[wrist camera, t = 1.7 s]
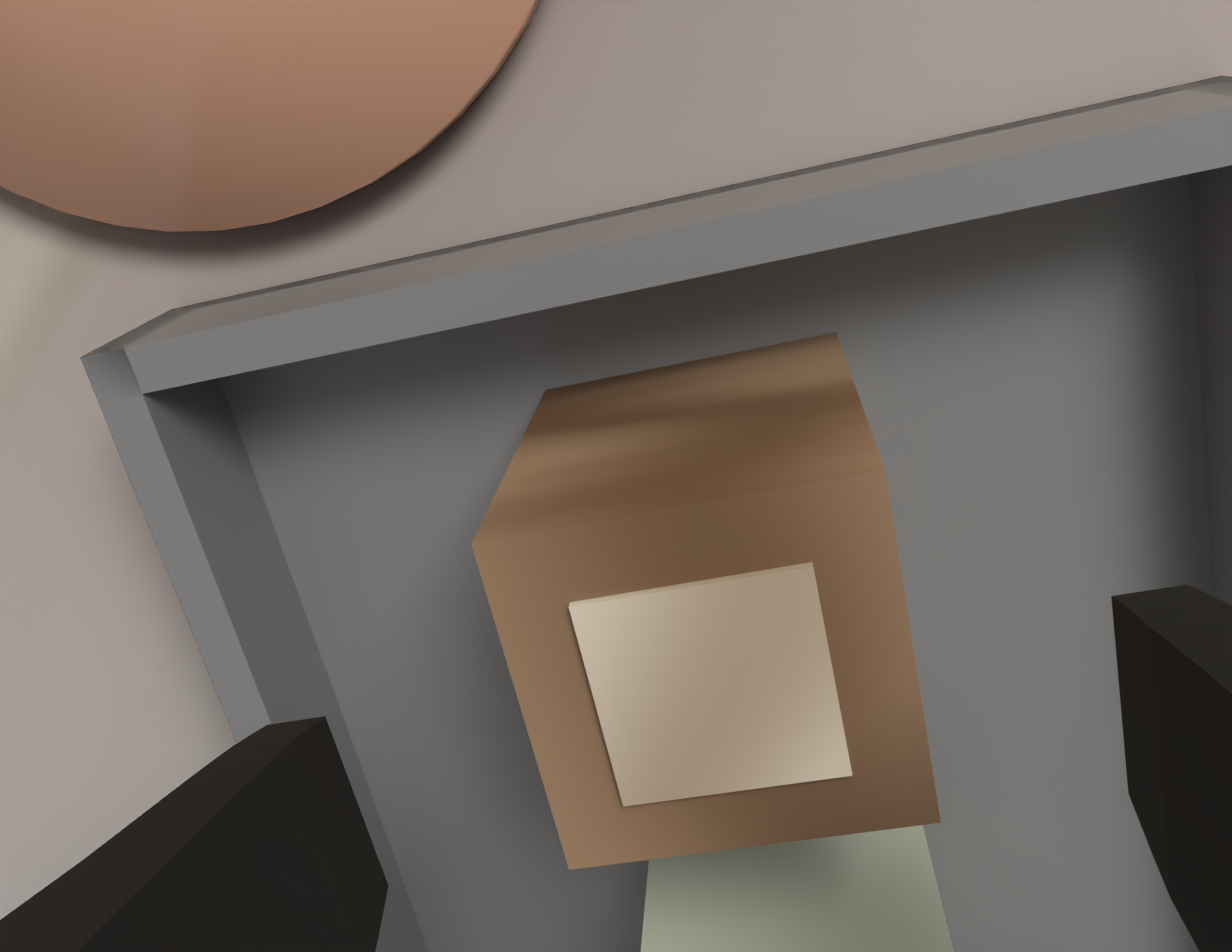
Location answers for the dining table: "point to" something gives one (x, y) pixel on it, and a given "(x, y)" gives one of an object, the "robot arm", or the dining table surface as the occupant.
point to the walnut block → (709, 609)
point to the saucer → (232, 100)
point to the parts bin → (696, 329)
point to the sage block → (799, 897)
